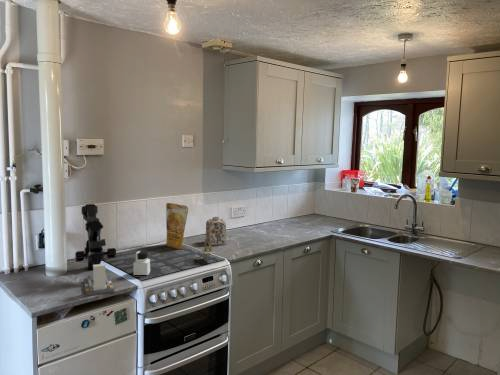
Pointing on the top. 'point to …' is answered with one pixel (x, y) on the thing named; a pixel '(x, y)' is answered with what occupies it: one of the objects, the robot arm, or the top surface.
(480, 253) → the top surface
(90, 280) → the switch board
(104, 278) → the slider tab
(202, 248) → the architectural model
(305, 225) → the top surface
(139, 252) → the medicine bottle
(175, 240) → the pancake mix bag
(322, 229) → the top surface
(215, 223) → the decorative jar
